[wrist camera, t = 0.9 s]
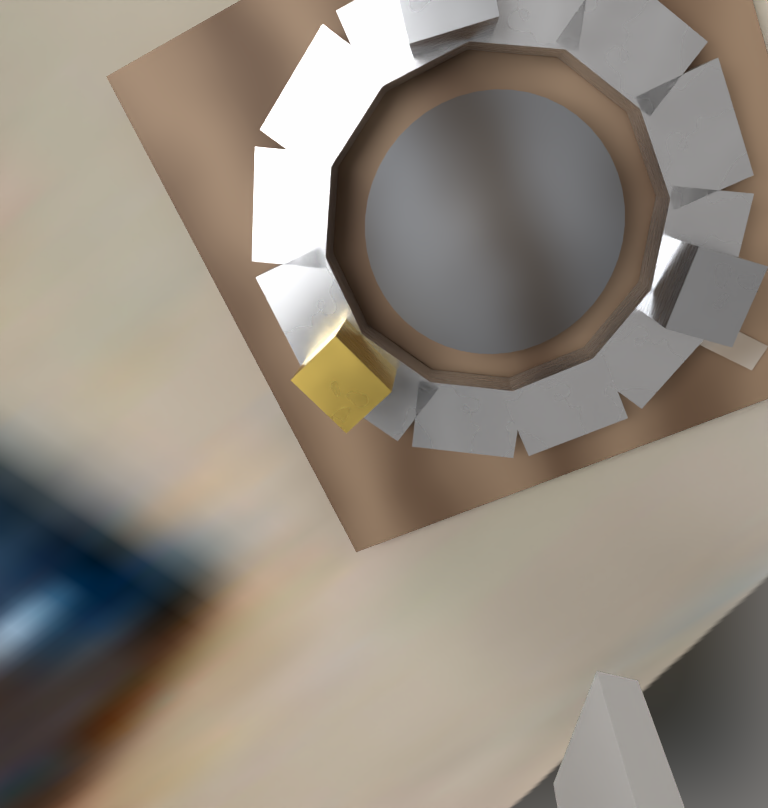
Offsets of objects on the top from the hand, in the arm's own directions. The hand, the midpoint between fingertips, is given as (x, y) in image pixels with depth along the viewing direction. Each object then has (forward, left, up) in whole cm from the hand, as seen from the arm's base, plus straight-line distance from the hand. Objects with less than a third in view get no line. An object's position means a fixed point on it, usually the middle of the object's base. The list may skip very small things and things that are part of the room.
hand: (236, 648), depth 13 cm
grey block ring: (+8, +3, -20) cm, 22 cm away
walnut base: (+8, +3, -22) cm, 24 cm away
